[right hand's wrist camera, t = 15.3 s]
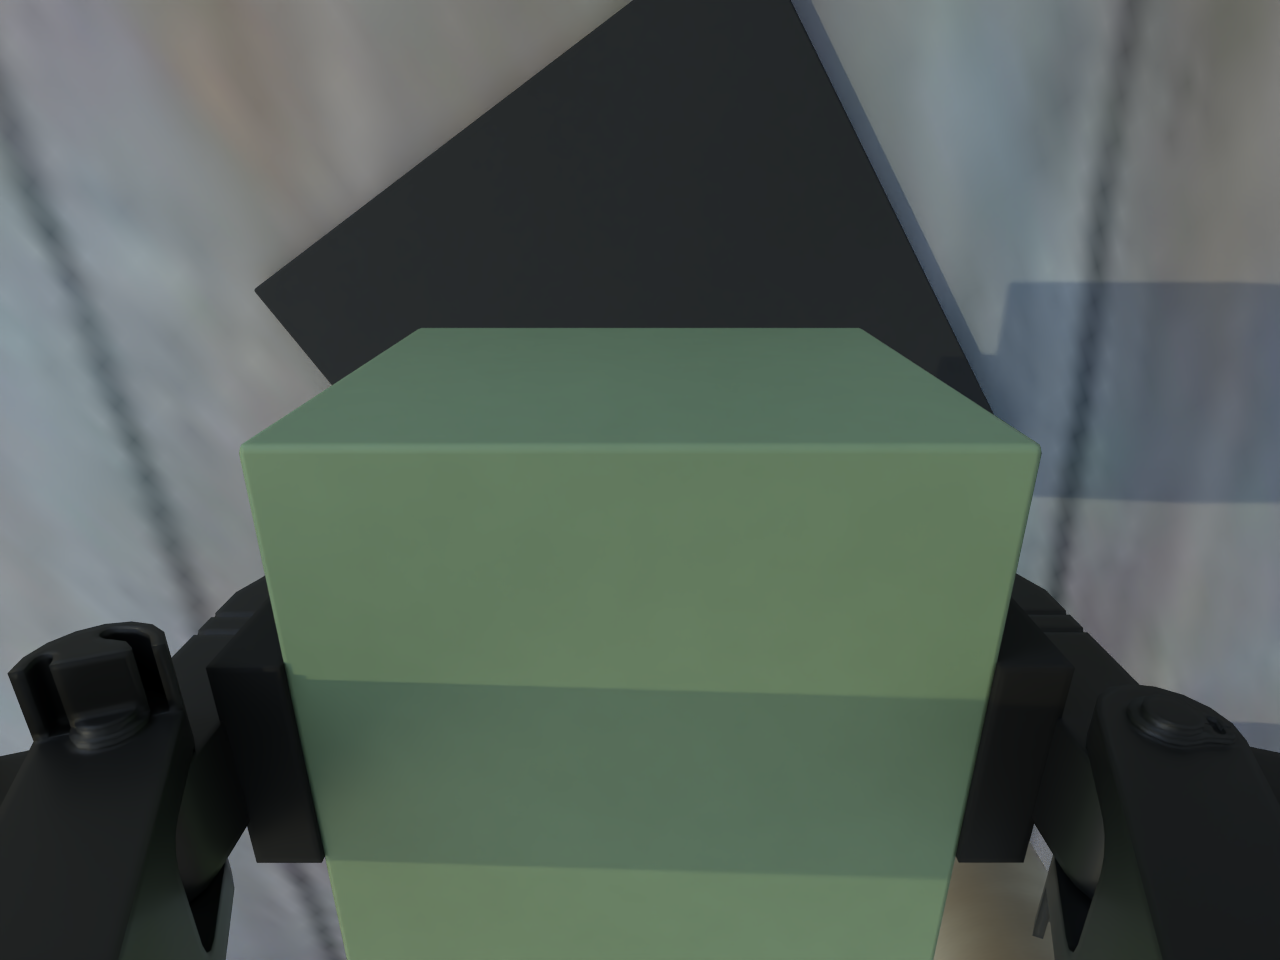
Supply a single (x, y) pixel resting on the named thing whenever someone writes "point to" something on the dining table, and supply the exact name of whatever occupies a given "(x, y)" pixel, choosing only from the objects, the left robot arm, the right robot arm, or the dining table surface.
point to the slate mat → (634, 206)
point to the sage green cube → (640, 639)
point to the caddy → (994, 912)
